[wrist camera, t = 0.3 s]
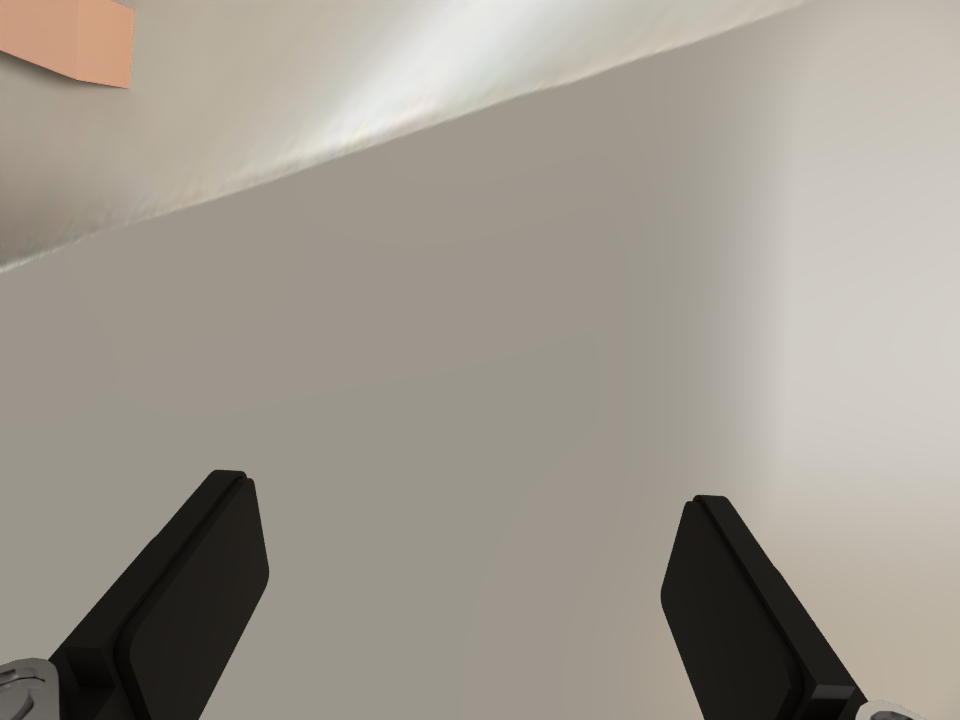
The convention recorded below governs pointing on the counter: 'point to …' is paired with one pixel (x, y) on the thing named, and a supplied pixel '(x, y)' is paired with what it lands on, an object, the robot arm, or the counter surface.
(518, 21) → the counter surface
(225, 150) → the counter surface
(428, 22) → the counter surface
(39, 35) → the terracotta block
